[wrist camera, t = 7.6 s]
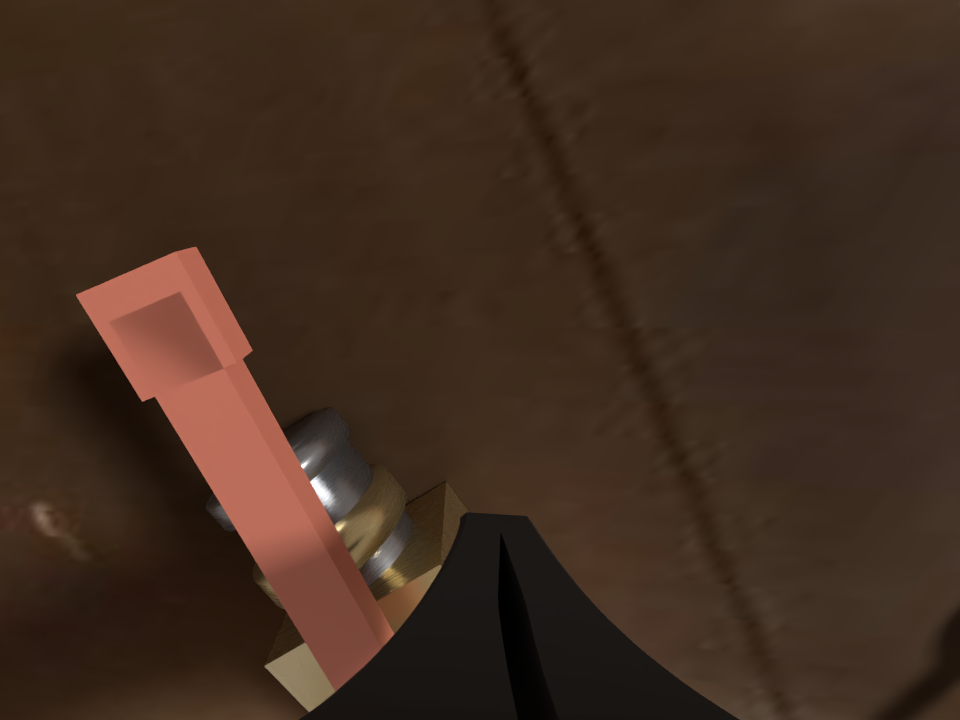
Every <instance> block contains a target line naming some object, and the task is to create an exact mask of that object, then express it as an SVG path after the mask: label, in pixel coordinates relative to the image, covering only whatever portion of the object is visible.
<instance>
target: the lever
mask: <svg viewBox="0 0 960 720" xmlns="http://www.w3.org/2000/svg"><path fill="white" fill-rule="evenodd" d="M76 296H77V298H78V299H79V301H80V303H81V304H82V306H83V307H84V309H85V311H86V312H87V314H88V315H89V317H90V319H91V320H92V322H93V323H94V325H95V327H96V328H97V330H98V332H99V333H100V335H101V336H102V338H103V340H104V341H105V343H106V344H107V346H108V348H109V349H110V351H111V352H112V354H113V356H114V357H115V359H116V361H117V362H118V364H119V365H120V367H121V369H122V370H123V372H124V373H125V375H126V377H127V378H128V380H129V381H130V383H131V385H132V386H133V388H134V389H135V391H136V393H137V394H138V396H139V398H140V399H141V401H142V402H143V401H145V400H148V399H150V398H152V397H155V398H156V399H157V401H158V402H159V404H160V406H161V407H162V409H163V411H164V412H165V414H166V416H167V417H168V419H169V420H170V422H171V424H172V425H173V427H174V429H175V430H176V432H177V433H178V435H179V437H180V438H181V440H182V442H183V443H184V445H185V447H186V448H187V450H188V451H189V453H190V455H191V456H192V458H193V460H194V461H195V463H196V465H197V466H198V468H199V469H200V471H201V473H202V474H203V476H204V478H205V479H206V481H207V482H208V484H209V486H210V487H211V489H212V491H213V492H214V494H215V496H216V497H217V499H218V500H219V502H220V504H221V505H222V507H223V509H224V510H225V512H226V514H227V515H228V517H229V518H230V520H231V522H232V523H233V525H234V527H235V528H236V530H237V531H238V533H239V535H240V536H241V538H242V540H243V541H244V543H245V545H246V546H247V548H248V549H249V551H250V553H251V554H252V556H253V558H254V559H255V561H256V563H257V564H258V566H259V567H260V569H261V571H262V572H263V574H264V576H265V577H266V579H267V580H268V582H269V584H270V585H271V587H272V589H273V590H274V592H275V594H276V595H277V597H278V598H279V600H280V602H281V603H282V605H283V607H284V608H285V610H286V612H287V613H288V615H289V616H290V618H291V620H292V621H293V623H294V625H295V626H296V628H297V629H298V631H299V633H300V634H301V636H302V638H303V639H304V641H305V643H306V644H307V646H308V647H309V649H310V651H311V652H312V654H313V656H314V657H315V659H316V661H317V662H318V664H319V665H320V667H321V669H322V670H323V672H324V674H325V675H326V677H327V678H328V680H329V682H330V683H331V685H332V687H333V688H334V690H335V692H336V691H337V690H338V689H339V688H340V687H341V686H342V685H344V684H345V683H346V682H347V681H348V680H349V679H350V678H351V677H353V676H354V675H355V674H356V673H357V672H358V671H359V670H360V669H362V668H363V667H364V666H365V665H366V664H367V663H368V662H369V661H370V660H371V659H372V658H373V657H374V656H375V655H376V654H377V653H378V652H379V651H380V649H381V648H382V647H383V646H384V645H385V644H386V643H387V642H388V641H389V640H390V638H391V637H392V636H393V635H394V633H393V631H392V629H391V627H390V625H389V624H388V622H387V620H386V618H385V616H384V615H383V613H382V611H381V609H380V607H379V606H378V604H377V602H376V600H375V598H374V596H373V595H372V593H371V591H370V589H369V587H368V586H367V584H366V582H365V580H364V578H363V577H362V575H361V573H360V571H359V569H358V567H357V566H356V564H355V562H354V560H353V558H352V557H351V555H350V553H349V551H348V549H347V548H346V546H345V544H344V542H343V540H342V539H341V537H340V535H339V533H338V531H337V529H336V528H335V526H334V524H333V522H332V520H331V519H330V517H329V515H328V513H327V511H326V510H325V508H324V506H323V504H322V502H321V501H320V499H319V497H318V495H317V493H316V491H315V490H314V488H313V486H312V484H311V482H310V481H309V479H308V477H307V475H306V473H305V472H304V470H303V468H302V466H301V464H300V463H299V461H298V459H297V457H296V455H295V453H294V452H293V450H292V448H291V446H290V444H289V443H288V441H287V439H286V437H285V435H284V434H283V432H282V430H281V428H280V426H279V425H278V423H277V421H276V419H275V417H274V415H273V414H272V412H271V410H270V408H269V406H268V405H267V403H266V401H265V399H264V397H263V396H262V394H261V392H260V390H259V388H258V387H257V385H256V383H255V381H254V379H253V377H252V376H251V374H250V372H249V370H248V368H247V367H246V365H245V363H244V361H243V358H244V357H245V356H246V355H248V354H249V353H250V352H251V351H253V350H252V348H251V346H250V345H249V343H248V341H247V339H246V337H245V335H244V334H243V332H242V330H241V328H240V326H239V324H238V323H237V321H236V319H235V317H234V315H233V313H232V312H231V310H230V308H229V306H228V304H227V302H226V301H225V299H224V297H223V295H222V293H221V291H220V290H219V288H218V286H217V284H216V282H215V280H214V279H213V277H212V275H211V273H210V271H209V269H208V267H207V266H206V264H205V262H204V260H203V258H202V256H201V255H200V253H199V251H198V249H197V247H193V248H189V249H185V250H181V251H177V252H174V253H172V254H169V255H167V256H165V257H163V258H160V259H158V260H156V261H153V262H151V263H149V264H146V265H144V266H142V267H139V268H137V269H135V270H133V271H130V272H128V273H126V274H123V275H121V276H119V277H116V278H114V279H112V280H109V281H107V282H105V283H102V284H100V285H98V286H96V287H93V288H91V289H89V290H86V291H84V292H82V293H79V294H77V295H76Z"/></svg>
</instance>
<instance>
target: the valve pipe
mask: <svg viewBox="0 0 960 720" xmlns="http://www.w3.org/2000/svg"><path fill="white" fill-rule="evenodd" d="M283 434H284V435H285V437H286V439H287V441H288V443H289V444H290V446H291V448H292V450H293V452H294V453H295V455H296V457H297V459H298V461H299V463H300V464H301V466H302V468H303V470H304V472H305V473H306V475H307V477H308V479H309V481H310V482H311V484H312V486H313V488H314V490H315V491H316V493H317V495H318V497H319V499H320V501H321V502H322V504H323V506H324V508H325V510H326V511H327V513H328V515H329V517H330V519H331V520H332V522H333V524H334V526H335V528H336V529H337V531H338V533H339V535H340V537H341V539H342V540H343V542H344V544H345V546H346V548H347V549H348V551H349V553H350V555H351V557H352V558H353V560H354V562H355V564H356V566H357V567H358V569H359V571H360V573H361V575H362V577H363V578H364V580H365V582H366V584H367V586H368V587H369V589H370V591H371V593H372V595H373V596H374V598H375V600H376V602H377V604H378V606H379V607H380V609H381V611H382V613H383V615H384V616H385V618H386V620H387V622H388V624H389V625H390V627H391V629H392V631H393V633H394V634H395V633H396V632H397V631H398V629H399V628H400V627H401V626H402V624H403V623H404V622H405V621H406V619H407V618H408V617H409V616H410V614H411V613H412V612H413V610H414V609H415V608H416V606H417V605H418V603H419V602H420V601H421V599H422V598H423V596H424V595H425V593H426V591H427V590H428V588H429V587H430V585H431V584H432V582H433V580H434V579H435V577H436V576H437V574H438V572H439V571H440V569H441V567H442V565H443V563H444V561H445V559H446V557H447V555H448V553H449V551H450V549H451V547H452V545H453V542H454V540H455V537H456V535H457V532H458V529H459V525H460V517H461V516H463V515H464V514H465V513H466V512H467V513H470V512H469V511H468V509H467V508H466V507H465V505H464V504H463V503H462V501H461V500H460V499H459V497H458V496H457V495H456V493H455V492H454V491H453V489H452V488H451V487H450V486H449V484H448V483H447V482H444V483H443V484H441V485H439V486H438V487H436V488H434V489H433V490H431V491H429V492H428V493H426V494H424V495H423V496H421V497H419V498H418V499H416V500H414V501H413V502H411V503H409V504H408V505H406V494H405V492H404V490H403V489H402V488H401V486H400V485H399V484H398V483H397V481H396V480H395V479H394V478H393V476H392V475H391V474H390V472H389V471H388V470H387V469H386V467H385V466H383V465H381V464H370V465H368V464H367V463H366V461H365V460H364V459H363V458H362V456H361V455H360V454H359V453H358V451H357V450H356V449H355V448H354V446H353V445H352V444H351V443H350V441H349V440H348V438H349V436H350V428H349V427H348V426H347V425H346V423H345V422H344V421H343V419H342V418H341V417H340V416H339V414H338V413H337V412H336V411H335V409H334V408H332V407H327V408H324V409H321V410H319V411H316V412H314V413H312V414H310V415H309V416H307V417H305V418H303V419H302V420H300V421H298V422H297V423H295V424H294V425H292V426H291V427H289V428H288V429H286V430H285V431H283ZM405 505H406V506H405ZM205 508H206V510H207V511H208V512H209V513H210V514H211V515H212V516H213V517H214V518H215V519H216V520H217V522H218V523H219V524H220V525H221V526H222V527H223V528H224V529H225V530H226V531H230V532H231V531H236V528H235V527H234V525H233V523H232V522H231V520H230V518H229V517H228V515H227V514H226V512H225V510H224V509H223V507H222V505H221V504H220V502H219V500H218V499H217V497H216V496H215V494H214V493H213V494H212V495H211V497H210V498H209V500H208V501H207V503H206V507H205ZM252 576H253V579H254V581H255V582H256V583H257V584H258V585H259V586H260V588H261V589H262V590H263V591H264V592H265V593H266V594H267V595H268V596H269V597H270V598H271V599H272V601H273V602H274V603H275V604H276V605H277V606H278V607H280V608H283V609H285V608H284V607H283V605H282V603H281V602H280V600H279V598H278V597H277V595H276V594H275V592H274V590H273V589H272V587H271V585H270V584H269V582H268V580H267V579H266V577H265V576H264V574H263V572H262V571H261V569H260V567H259V566H258V564H257V563H256V562H255V565H254V568H253V572H252ZM265 667H266V669H267V670H268V671H269V672H270V673H271V674H272V675H273V676H274V677H275V678H276V679H277V680H278V681H279V682H280V683H281V684H282V685H283V686H284V687H285V688H286V689H287V690H288V691H289V692H290V693H291V694H292V695H293V696H294V697H295V698H296V699H297V700H298V701H299V702H300V704H301V705H302V706H303V707H304V708H305V709H306V710H307V711H308V712H310V711H312V710H313V709H314V708H316V707H317V706H319V705H320V704H321V703H322V702H324V701H325V700H326V699H327V698H329V697H330V696H331V695H332V694H333V693H334V692H335V690H334V688H333V687H332V685H331V683H330V682H329V680H328V678H327V677H326V675H325V674H324V672H323V670H322V669H321V667H320V665H319V664H318V662H317V661H316V659H315V657H314V656H313V654H312V652H311V651H310V649H309V647H308V646H307V644H306V643H305V641H304V639H303V638H302V636H301V634H300V633H299V631H298V629H297V628H296V626H295V625H294V623H293V621H292V620H291V618H290V616H289V615H288V613H286V615H285V618H284V620H283V622H282V625H281V627H280V630H279V632H278V634H277V637H276V639H275V642H274V644H273V646H272V649H271V651H270V654H269V656H268V658H267V661H266V663H265Z"/></svg>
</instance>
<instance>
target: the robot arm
mask: <svg viewBox="0 0 960 720" xmlns="http://www.w3.org/2000/svg"><path fill="white" fill-rule="evenodd" d="M299 720H739V719H737V718H736V717H734V716H733V715H731V714H729V713H728V712H726V711H725V710H723V709H722V708H720V707H719V706H717V705H716V704H714V703H713V702H711V701H709V700H708V699H706V698H705V697H703V696H702V695H700V694H699V693H698V692H696V691H695V690H693V689H692V688H690V687H689V686H688V685H686V684H685V683H683V682H682V681H681V680H679V679H678V678H677V677H675V676H674V675H673V674H671V673H670V672H669V671H668V670H666V669H665V668H664V667H662V666H661V665H660V664H659V663H657V662H656V661H655V660H653V659H652V658H651V657H650V656H648V655H647V654H646V653H645V652H644V651H642V650H641V649H640V648H639V647H638V646H637V645H635V644H634V643H633V642H632V641H631V640H630V639H629V638H628V637H627V636H626V635H624V634H623V633H622V632H621V631H620V630H619V629H618V628H617V627H616V626H615V625H614V624H613V623H612V622H610V621H609V620H608V619H607V618H606V616H605V615H604V614H603V613H602V612H601V611H600V610H599V609H598V608H597V607H596V606H595V605H594V604H593V603H592V602H591V600H590V599H589V598H588V597H587V596H586V595H585V594H584V592H583V591H582V590H581V589H580V588H579V587H578V585H577V584H576V583H575V582H574V580H573V579H572V578H571V577H570V575H569V574H568V573H567V571H566V570H565V569H564V568H563V566H562V565H561V564H560V562H559V561H558V560H557V558H556V557H555V556H554V554H553V553H552V552H551V550H550V549H549V547H548V546H547V544H546V543H545V542H544V540H543V539H542V537H541V536H540V534H539V533H538V531H537V530H536V528H535V527H534V525H533V524H532V522H531V521H530V520H529V518H528V517H527V516H516V515H500V514H483V513H467V512H466V513H465V514H464V515H463V516H461V517H460V525H459V529H458V532H457V535H456V537H455V540H454V542H453V545H452V547H451V549H450V551H449V553H448V555H447V557H446V559H445V561H444V563H443V565H442V567H441V569H440V571H439V572H438V574H437V576H436V577H435V579H434V580H433V582H432V584H431V585H430V587H429V588H428V590H427V591H426V593H425V595H424V596H423V598H422V599H421V601H420V602H419V603H418V605H417V606H416V608H415V609H414V610H413V612H412V613H411V614H410V616H409V617H408V618H407V619H406V621H405V622H404V623H403V624H402V626H401V627H400V628H399V629H398V631H397V632H396V633H395V634H394V635H393V636H392V637H391V638H390V640H389V641H388V642H387V643H386V644H385V645H384V646H383V647H382V648H381V649H380V651H379V652H378V653H377V654H376V655H375V656H374V657H373V658H372V659H371V660H370V661H369V662H368V663H367V664H366V665H365V666H364V667H363V668H362V669H360V670H359V671H358V672H357V673H356V674H355V675H354V676H353V677H351V678H350V679H349V680H348V681H347V682H346V683H345V684H344V685H342V686H341V687H340V688H339V689H338V690H337V691H336V692H334V693H333V694H332V695H331V696H330V697H329V698H327V699H326V700H325V701H324V702H322V703H321V704H320V705H319V706H317V707H316V708H314V709H313V710H312V711H310V712H309V713H308V714H306V715H305V716H303V717H302V718H301V719H299Z"/></svg>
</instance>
